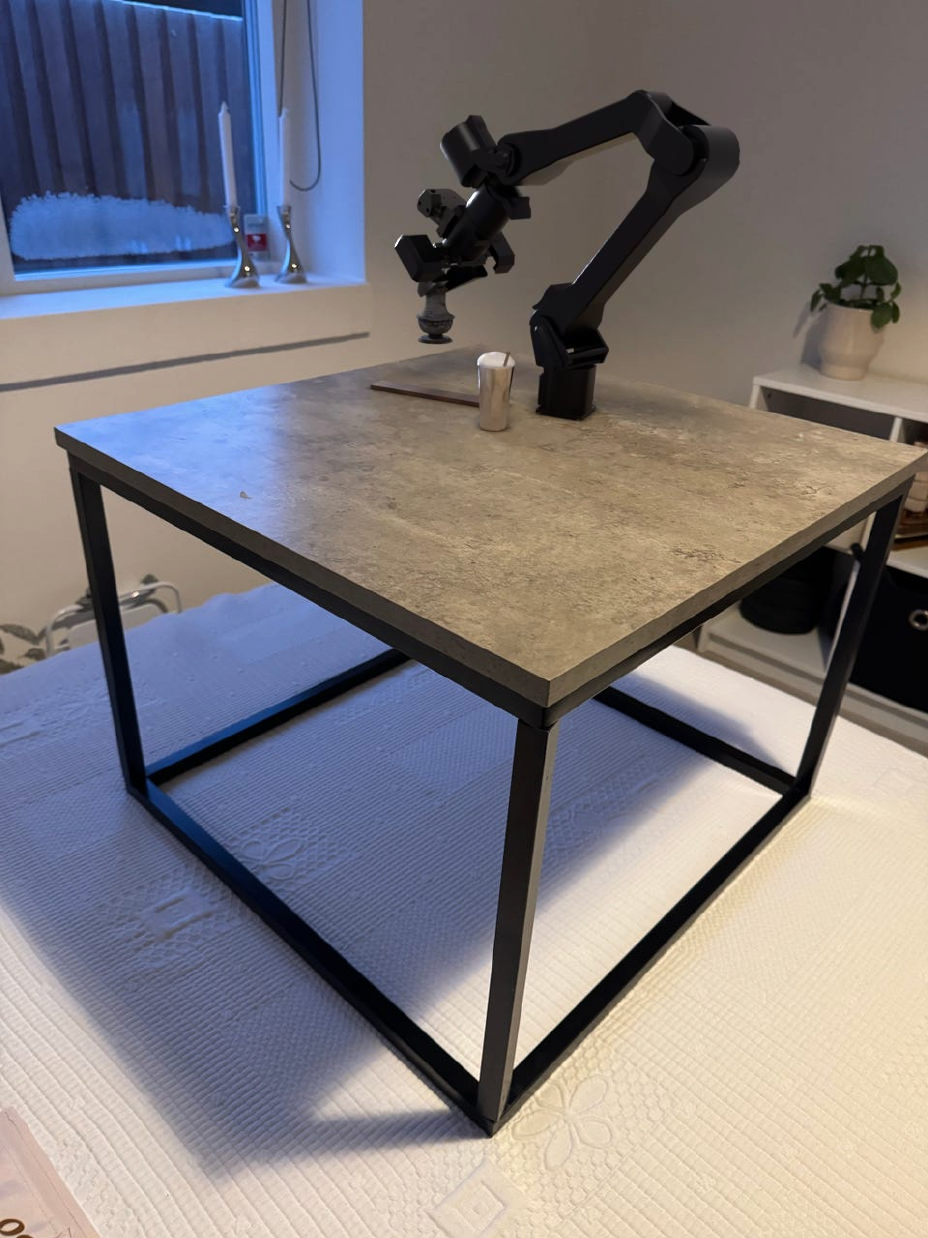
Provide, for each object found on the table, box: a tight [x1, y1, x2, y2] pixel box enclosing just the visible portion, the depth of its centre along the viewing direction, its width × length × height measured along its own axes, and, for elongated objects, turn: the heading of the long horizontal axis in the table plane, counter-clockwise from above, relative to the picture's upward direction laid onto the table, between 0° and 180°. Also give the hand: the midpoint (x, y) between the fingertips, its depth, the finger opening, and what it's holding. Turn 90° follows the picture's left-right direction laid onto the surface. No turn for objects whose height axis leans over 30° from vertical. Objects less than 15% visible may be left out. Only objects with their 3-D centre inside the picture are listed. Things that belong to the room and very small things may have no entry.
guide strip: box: [370, 379, 480, 408], centre depth 119 cm, size 20×3×1 cm, turn 63°
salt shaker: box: [415, 284, 456, 345], centre depth 126 cm, size 6×6×12 cm
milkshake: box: [476, 350, 516, 432], centre depth 105 cm, size 4×5×10 cm
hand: (429, 293), depth 127 cm, fingers closed on salt shaker, 3 cm apart
